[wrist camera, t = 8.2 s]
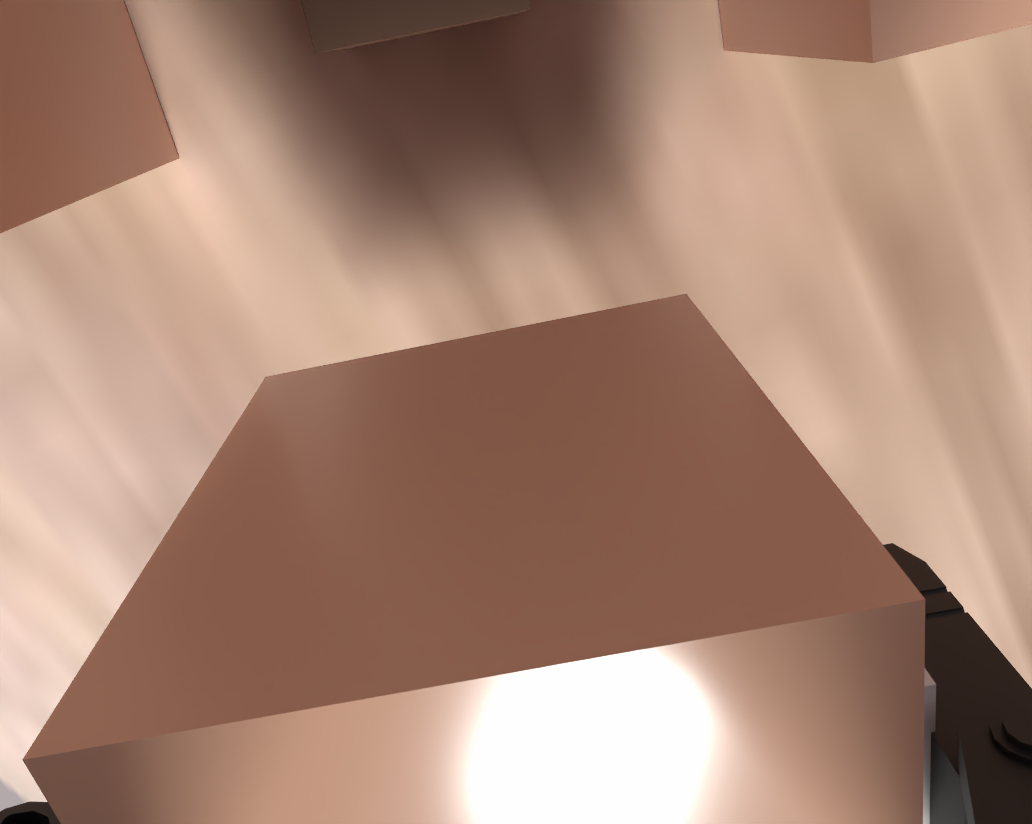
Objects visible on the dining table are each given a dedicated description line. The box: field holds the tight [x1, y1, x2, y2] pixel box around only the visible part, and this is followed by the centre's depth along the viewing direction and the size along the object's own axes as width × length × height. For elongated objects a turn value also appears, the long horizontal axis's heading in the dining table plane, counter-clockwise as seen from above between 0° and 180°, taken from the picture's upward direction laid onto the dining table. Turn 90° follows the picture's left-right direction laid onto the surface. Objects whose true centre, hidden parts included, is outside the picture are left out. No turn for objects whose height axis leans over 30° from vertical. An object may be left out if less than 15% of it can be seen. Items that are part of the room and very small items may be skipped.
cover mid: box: [23, 294, 925, 824], centre depth 11 cm, size 7×7×8 cm
